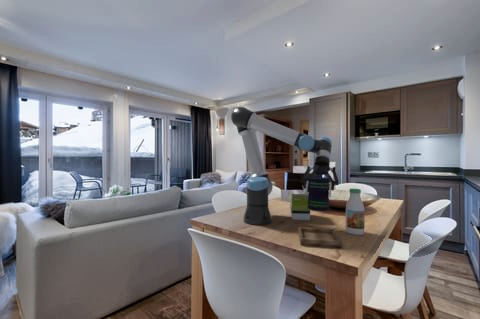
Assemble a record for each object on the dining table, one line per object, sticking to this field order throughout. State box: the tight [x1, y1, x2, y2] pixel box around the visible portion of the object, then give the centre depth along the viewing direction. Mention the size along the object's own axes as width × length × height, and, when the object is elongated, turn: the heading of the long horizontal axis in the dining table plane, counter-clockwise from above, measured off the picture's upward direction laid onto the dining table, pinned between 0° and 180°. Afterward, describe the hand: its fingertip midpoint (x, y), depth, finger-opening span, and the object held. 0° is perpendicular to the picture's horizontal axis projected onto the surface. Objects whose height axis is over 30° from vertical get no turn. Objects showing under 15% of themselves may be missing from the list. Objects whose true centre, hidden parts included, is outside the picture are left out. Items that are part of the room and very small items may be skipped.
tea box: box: [289, 189, 311, 221], centre depth 131 cm, size 15×10×15 cm
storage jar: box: [308, 176, 330, 212], centre depth 108 cm, size 10×10×15 cm
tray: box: [297, 226, 343, 249], centre depth 94 cm, size 15×15×2 cm
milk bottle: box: [345, 188, 366, 236], centre depth 103 cm, size 8×8×20 cm
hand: (317, 194), depth 105 cm, fingers closed on storage jar, 10 cm apart
